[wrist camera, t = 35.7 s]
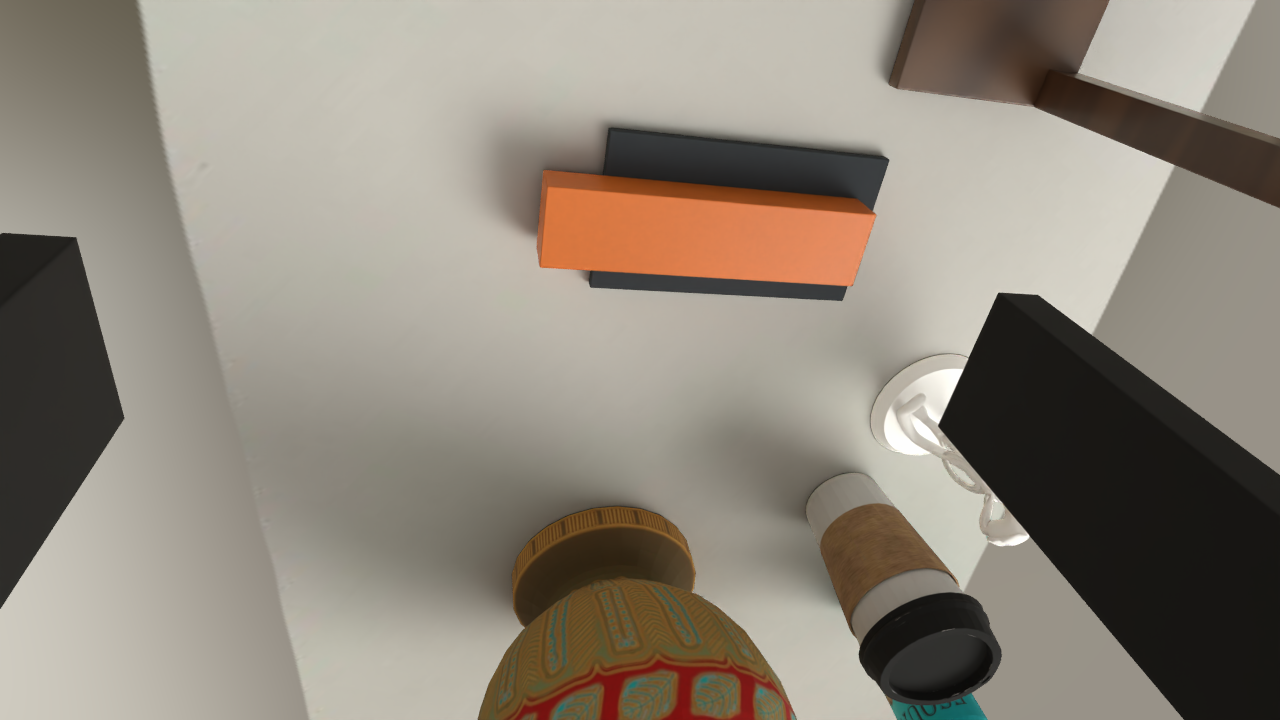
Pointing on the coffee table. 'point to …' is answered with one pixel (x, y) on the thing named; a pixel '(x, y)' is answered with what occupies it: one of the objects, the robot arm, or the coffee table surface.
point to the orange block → (699, 230)
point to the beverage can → (939, 710)
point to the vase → (624, 632)
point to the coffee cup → (899, 597)
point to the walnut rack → (1071, 84)
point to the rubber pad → (740, 170)
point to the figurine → (935, 431)
